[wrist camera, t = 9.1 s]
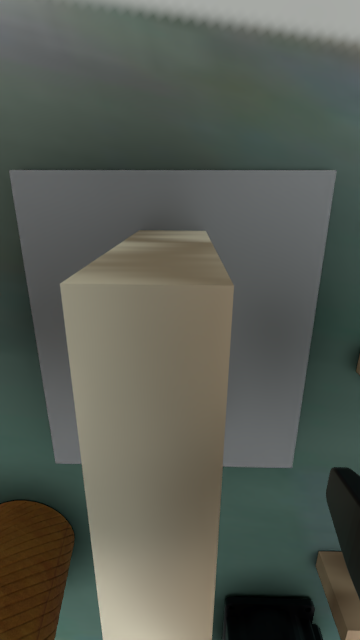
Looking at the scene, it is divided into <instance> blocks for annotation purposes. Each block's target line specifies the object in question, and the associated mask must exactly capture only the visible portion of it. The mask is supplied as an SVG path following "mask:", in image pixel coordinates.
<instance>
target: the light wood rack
mask: <svg viewBox="0 0 360 640" xmlns="http://www.w3.org/2000/svg"><path fill="white" fill-rule="evenodd" d="M356 372H357V373H358V374H359V375H360V355H359V360H358V364H357V369H356ZM316 569H317V571H318V574H319V577H320V580H321V583H322V586H323V589H324V592H325V595H326V598H327V600H328V603H329V606H330V609H331V612H332V615H333V618H334V621H335V624H336V626H337V629H338V632H339V635H340V638H341V640H360V600H359V597H358V595H357V592H356V590H355V587H354V585H353V582H352V580H351V577H350V575H349V572H348V569H347V566H346V563H345V560H344V557H343V554H342V552H331V551H319V552H318V557H317V562H316Z"/></svg>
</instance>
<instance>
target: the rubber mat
mask: <svg viewBox="0 0 360 640" xmlns="http://www.w3.org/2000/svg"><path fill="white" fill-rule="evenodd" d="M336 171H337V170H9V173H10V180H11V186H12V192H13V198H14V205H15V211H16V217H17V224H18V230H19V236H20V242H21V249H22V255H23V261H24V268H25V274H26V280H27V286H28V293H29V299H30V305H31V312H32V318H33V324H34V330H35V337H36V343H37V349H38V356H39V362H40V368H41V374H42V381H43V387H44V393H45V400H46V406H47V412H48V418H49V425H50V431H51V437H52V444H53V450H54V456H55V463H62V464H82V462H81V454H80V446H79V437H78V429H77V421H76V413H75V404H74V396H73V388H72V380H71V371H70V363H69V355H68V347H67V339H66V330H65V322H64V314H63V306H62V297H61V289H60V283H62V282H63V281H65V280H66V279H68V278H69V277H71V276H72V275H74V274H75V273H77V272H78V271H80V270H81V269H83V268H84V267H86V266H87V265H88V264H90V263H91V262H93V261H94V260H96V259H97V258H99V257H100V256H102V255H103V254H105V253H106V252H108V251H109V250H111V249H112V248H114V247H115V246H117V245H118V244H120V243H121V242H123V241H124V240H126V239H127V238H129V237H130V236H132V235H133V234H135V233H136V232H138V231H139V230H164V231H206V232H207V234H208V236H209V238H210V240H211V242H212V244H213V246H214V248H215V250H216V252H217V254H218V256H219V258H220V260H221V261H222V263H223V265H224V267H225V269H226V271H227V273H228V275H229V277H230V279H231V281H232V283H233V285H234V293H233V309H232V325H231V341H230V357H229V373H228V389H227V405H226V421H225V437H224V453H223V467H265V468H292V465H293V458H294V451H295V445H296V438H297V431H298V425H299V418H300V411H301V405H302V398H303V391H304V385H305V378H306V371H307V365H308V358H309V351H310V345H311V338H312V331H313V325H314V318H315V311H316V305H317V298H318V291H319V285H320V278H321V271H322V264H323V258H324V251H325V244H326V238H327V231H328V224H329V218H330V211H331V204H332V198H333V191H334V184H335V178H336Z"/></svg>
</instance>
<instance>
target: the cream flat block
mask: <svg viewBox="0 0 360 640" xmlns="http://www.w3.org/2000/svg"><path fill="white" fill-rule="evenodd" d="M60 289H61V297H62V306H63V314H64V322H65V330H66V339H67V347H68V355H69V363H70V371H71V380H72V388H73V396H74V404H75V413H76V421H77V429H78V437H79V446H80V454H81V462H82V470H83V479H84V487H85V495H86V503H87V511H88V520H89V528H90V536H91V544H92V553H93V561H94V569H95V577H96V586H97V594H98V602H99V610H100V619H101V627H102V635H103V640H212V629H213V613H214V597H215V581H216V565H217V549H218V533H219V517H220V501H221V485H222V469H223V453H224V437H225V421H226V405H227V389H228V373H229V357H230V341H231V325H232V309H233V293H234V285H233V283H232V281H231V279H230V277H229V275H228V273H227V271H226V269H225V267H224V265H223V263H222V261H221V260H220V258H219V256H218V254H217V252H216V250H215V248H214V246H213V244H212V242H211V240H210V238H209V236H208V234H207V232H206V231H164V230H139V231H138V232H136V233H135V234H133V235H132V236H130V237H129V238H127V239H126V240H124V241H123V242H121V243H120V244H118V245H117V246H115V247H114V248H112V249H111V250H109V251H108V252H106V253H105V254H103V255H102V256H100V257H99V258H97V259H96V260H94V261H93V262H91V263H90V264H88V265H87V266H86V267H84V268H83V269H81V270H80V271H78V272H77V273H75V274H74V275H72V276H71V277H69V278H68V279H66V280H65V281H63V282H62V283H60Z"/></svg>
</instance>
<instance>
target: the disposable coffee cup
mask: <svg viewBox="0 0 360 640" xmlns="http://www.w3.org/2000/svg"><path fill="white" fill-rule="evenodd" d="M73 546H74V532H73V530H72V527H71V525H70V524H69V523H68V521H67V520H66V519H65V518H64V517H63V516H62V515H61V514H60V513H58V512H57V511H55V510H54V509H52V508H50V507H48V506H46V505H43V504H40V503H36V502H31V501H11V502H6V503H3V504H0V640H54V638H55V635H56V629H57V624H58V620H59V614H60V609H61V604H62V599H63V595H64V589H65V585H66V579H67V576H68V570H69V565H70V560H71V556H72V550H73Z"/></svg>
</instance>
